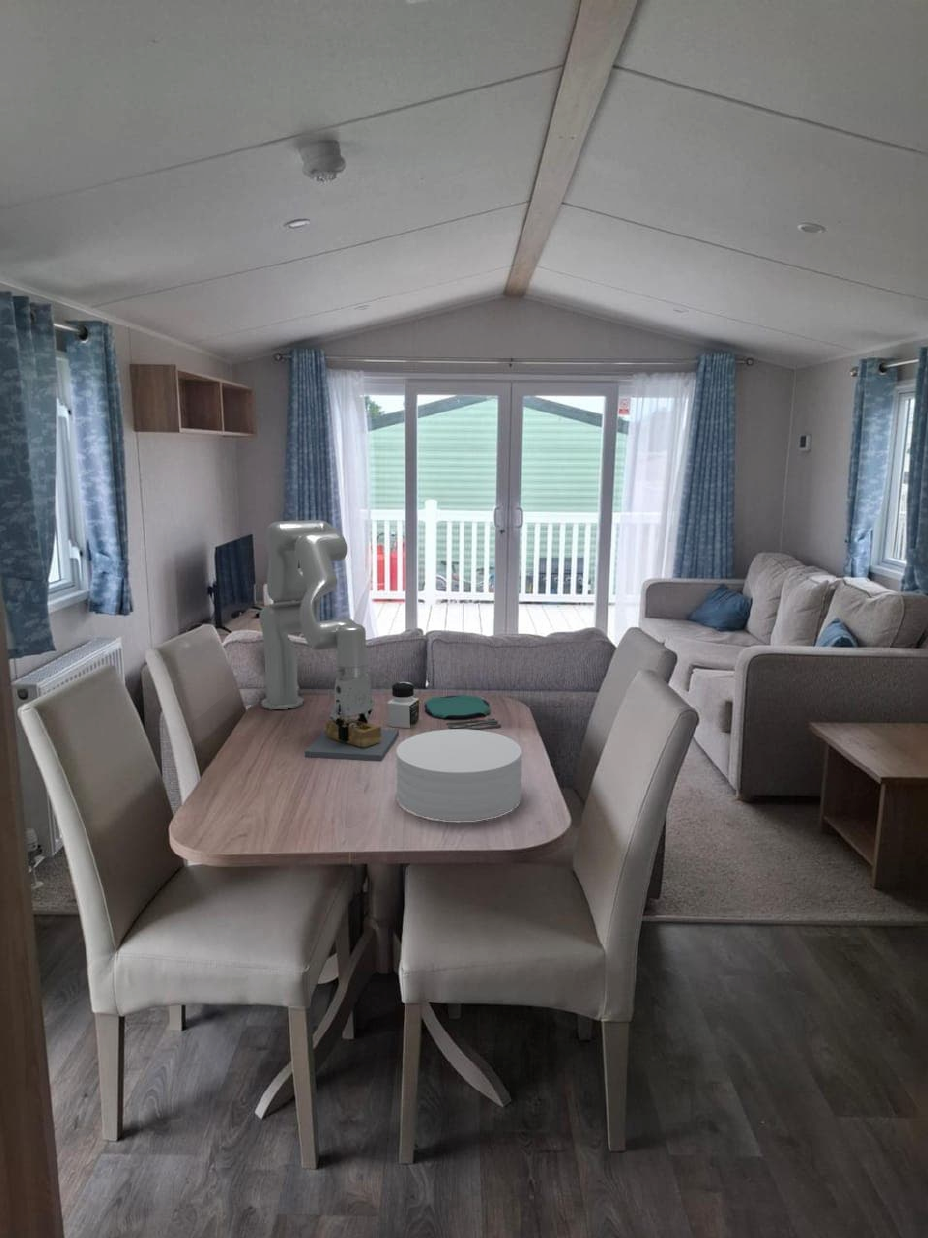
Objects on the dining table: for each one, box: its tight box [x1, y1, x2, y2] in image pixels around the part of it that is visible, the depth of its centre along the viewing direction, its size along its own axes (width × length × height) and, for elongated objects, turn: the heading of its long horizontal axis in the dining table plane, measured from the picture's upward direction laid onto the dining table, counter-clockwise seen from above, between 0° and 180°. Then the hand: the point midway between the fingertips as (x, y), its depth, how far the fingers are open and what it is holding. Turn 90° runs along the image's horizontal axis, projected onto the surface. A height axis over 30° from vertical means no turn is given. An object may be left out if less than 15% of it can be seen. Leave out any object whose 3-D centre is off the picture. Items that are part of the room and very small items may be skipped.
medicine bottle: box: [386, 681, 420, 729], centre depth 241 cm, size 7×7×12 cm
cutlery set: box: [423, 694, 502, 731], centre depth 251 cm, size 20×30×2 cm, turn 15°
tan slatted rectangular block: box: [325, 717, 382, 748], centre depth 224 cm, size 14×6×4 cm, turn 52°
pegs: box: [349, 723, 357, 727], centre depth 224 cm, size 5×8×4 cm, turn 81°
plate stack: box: [395, 728, 523, 821], centre depth 190 cm, size 28×28×12 cm
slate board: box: [304, 728, 400, 762], centre depth 224 cm, size 20×20×2 cm
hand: (353, 736), depth 224 cm, fingers closed on tan slatted rectangular block, 6 cm apart
